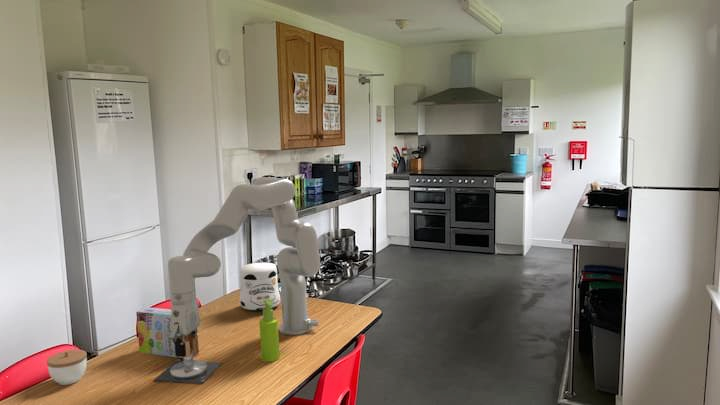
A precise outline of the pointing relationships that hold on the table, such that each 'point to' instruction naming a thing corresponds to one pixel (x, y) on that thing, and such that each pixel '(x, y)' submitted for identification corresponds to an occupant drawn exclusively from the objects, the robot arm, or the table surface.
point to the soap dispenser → (269, 334)
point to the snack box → (155, 332)
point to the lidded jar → (67, 366)
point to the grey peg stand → (188, 371)
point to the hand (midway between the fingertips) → (186, 350)
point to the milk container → (258, 286)
